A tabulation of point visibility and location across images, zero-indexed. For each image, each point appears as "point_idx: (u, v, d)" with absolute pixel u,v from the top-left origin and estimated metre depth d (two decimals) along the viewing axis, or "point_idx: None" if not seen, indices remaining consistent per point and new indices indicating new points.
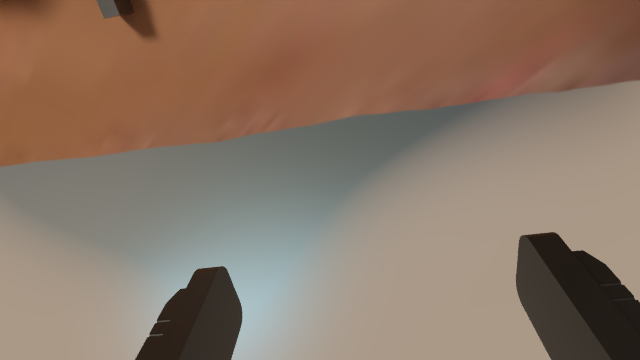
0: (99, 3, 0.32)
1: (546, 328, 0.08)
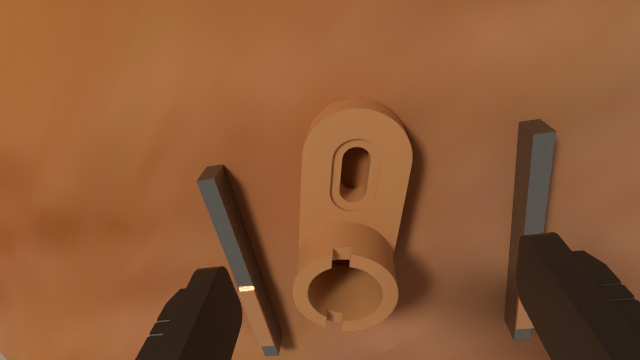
0: (515, 332, 0.36)
1: (546, 328, 0.08)
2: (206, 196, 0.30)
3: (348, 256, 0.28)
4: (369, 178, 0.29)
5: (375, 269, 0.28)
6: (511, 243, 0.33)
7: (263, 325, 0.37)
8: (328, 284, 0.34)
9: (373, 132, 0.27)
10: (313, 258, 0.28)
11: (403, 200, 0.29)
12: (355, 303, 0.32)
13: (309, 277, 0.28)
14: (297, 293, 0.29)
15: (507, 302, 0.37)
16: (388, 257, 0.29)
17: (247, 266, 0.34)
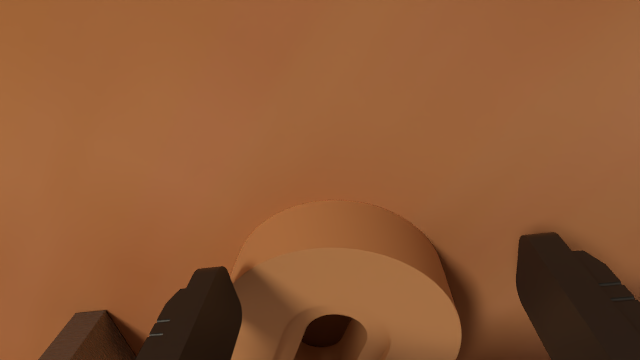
0: None
1: (546, 328, 0.08)
2: None
3: None
4: None
5: None
6: None
7: None
8: None
9: (388, 301, 0.12)
10: None
11: None
12: None
13: None
14: None
15: None
16: None
17: None
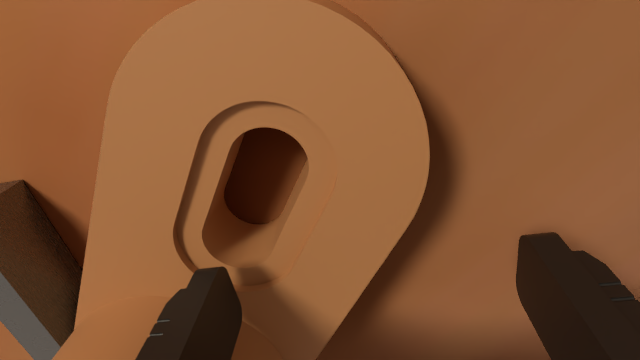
0: None
1: (546, 328, 0.08)
2: None
3: None
4: (288, 223, 0.11)
5: None
6: None
7: None
8: None
9: (339, 101, 0.09)
10: None
11: (354, 298, 0.12)
12: None
13: None
14: None
15: None
16: None
17: None
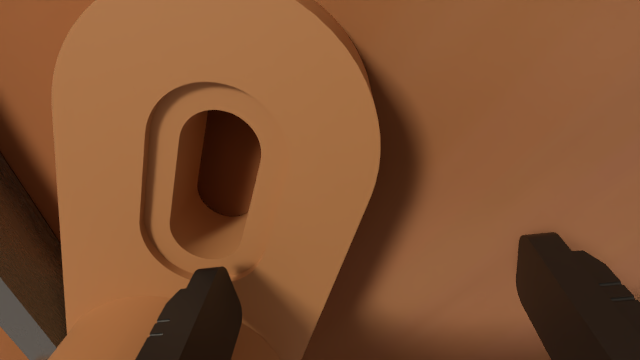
0: None
1: (546, 328, 0.08)
2: None
3: None
4: (252, 207, 0.11)
5: None
6: None
7: None
8: None
9: (274, 72, 0.08)
10: None
11: (332, 279, 0.11)
12: None
13: None
14: None
15: None
16: None
17: (34, 311, 0.13)
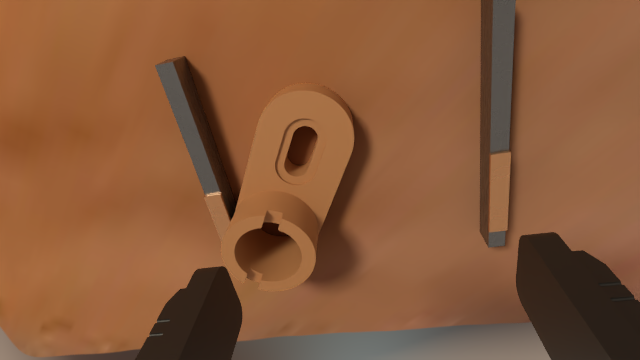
0: (489, 237, 0.35)
1: (546, 328, 0.08)
2: (166, 83, 0.30)
3: (279, 221, 0.31)
4: (313, 157, 0.32)
5: (299, 236, 0.31)
6: (481, 138, 0.33)
7: None
8: (255, 248, 0.36)
9: (324, 116, 0.30)
10: (247, 215, 0.31)
11: (338, 183, 0.33)
12: (276, 268, 0.35)
13: (239, 232, 0.31)
14: (225, 246, 0.32)
15: (481, 209, 0.36)
16: (314, 230, 0.33)
17: (212, 168, 0.33)
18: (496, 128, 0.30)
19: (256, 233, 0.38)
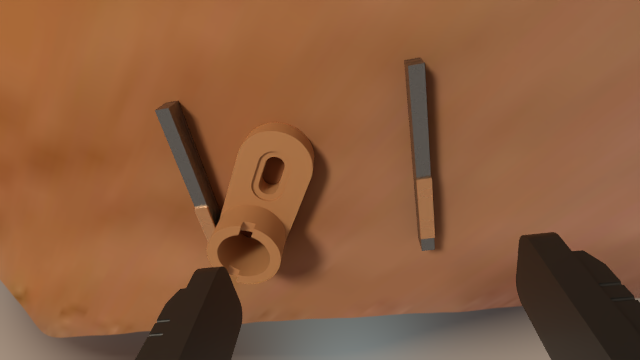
0: (422, 243, 0.44)
1: (546, 328, 0.08)
2: (163, 123, 0.38)
3: (252, 230, 0.40)
4: (281, 180, 0.41)
5: (268, 242, 0.40)
6: (413, 165, 0.41)
7: None
8: (235, 249, 0.45)
9: (289, 150, 0.39)
10: (227, 225, 0.40)
11: (300, 201, 0.42)
12: (251, 266, 0.44)
13: (221, 237, 0.40)
14: (210, 247, 0.41)
15: (417, 220, 0.45)
16: (280, 237, 0.42)
17: (200, 187, 0.42)
18: (419, 160, 0.39)
19: (237, 236, 0.47)
